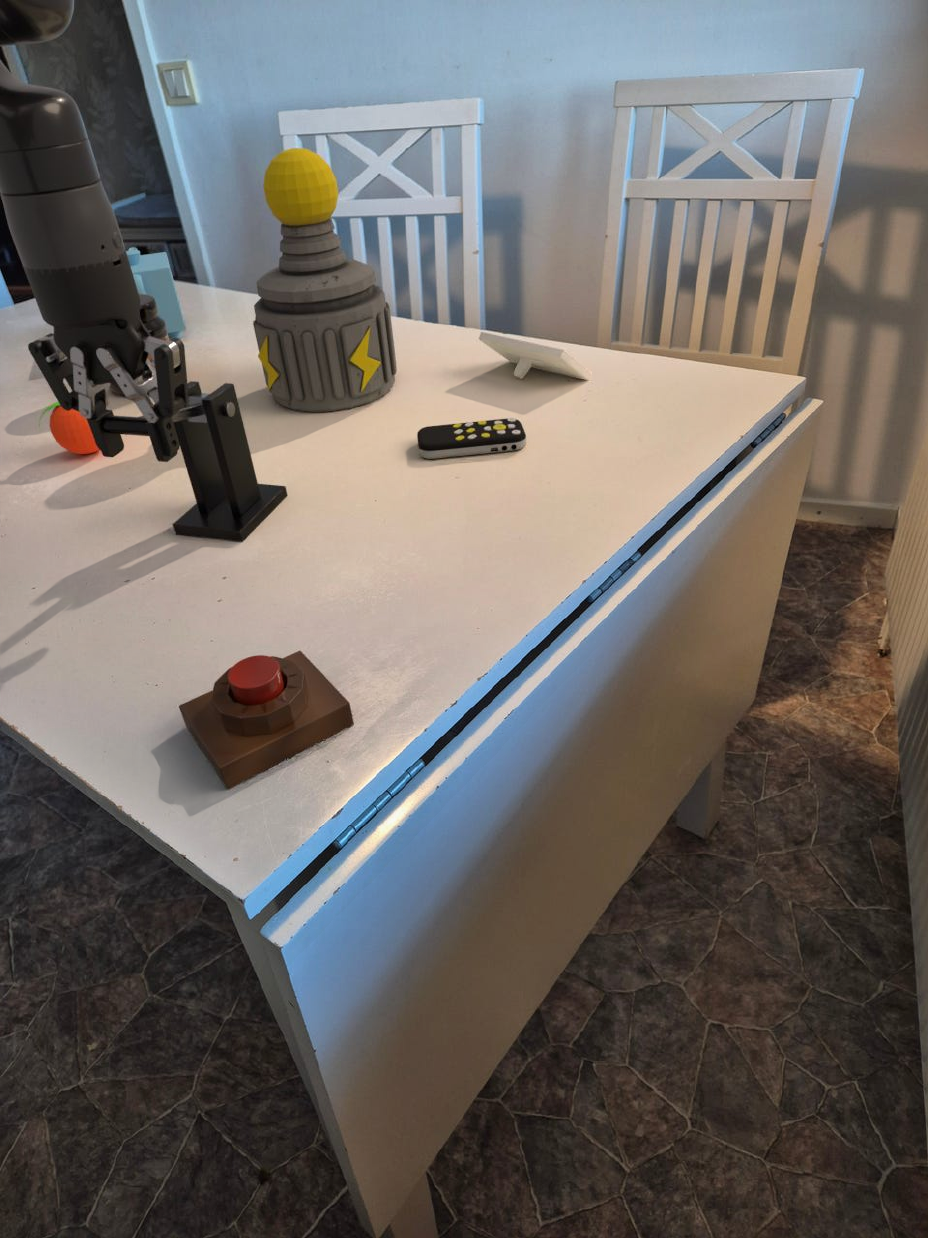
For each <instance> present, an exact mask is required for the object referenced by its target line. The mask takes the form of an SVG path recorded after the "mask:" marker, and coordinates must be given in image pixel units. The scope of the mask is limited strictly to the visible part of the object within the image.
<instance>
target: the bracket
mask: <svg viewBox="0 0 928 1238" xmlns="http://www.w3.org/2000/svg"><path fill="white" fill-rule="evenodd" d="M187 385H188V396H192V395H197V394H201V393H203V392H202V389H201V385H200V382H199V381H196V380H195V381H193V380H191V381H189V382H187ZM208 394H209V395H208V396H206V397H205V398H204V399H202V403H203V407H204V411H205V414H206V418H207V422H208V423H199V422H188V419H186V420H182V421H178V422H174V423H173V424H174V427H175V430H176V434H177V437H178V440H179V443H180V447H179V449H180V451H181V455H182V458H183V461H184V464H185V469H186V472H187V474H188V478H189V481H190V485H191V488H192V492H193V496H194V498H195V504H194V505H193V506H192V507H190V508H189V509H188V510H187V511H186V512H184V514H183V515H181V516H180V517H179V518H178V519H177V520H176V521H174V522H173V523H172V527H173V530H174V533H175V535H180V536H187V537H188V536H190V537H196V538H197V537H198V538H208V539H214V540H215V539H217V540H225V541H234V542H242V543H243V542H244V541H245V540H246V539H247V538H248V537H249V536H250V535H251V534H252V533H253V532H254V530H256V529H257V528H258V527H259V525H260V524H262V523H263V522H264V520H265V519H266V518H267V517H269V515H270V514H272V512H273V511H274V510H275V509H276V508H277V507H278V506H279V505H280V504H281V503H282V502H283V501H284V500H285V499H286V498H287V497H288V492H287V487H286V485H280V484H279V485H278V484H277V485H276V484H266V483H259V482H258V479H257V475H256V471H255V466H254V462H253V459H252V454H251V450H250V445H249V441H248V437H247V433H246V429H245V424H244V422H243V416H242V412H241V408H240V405H239V400H238V396H237V392H236V388H235V384H234V383H231V382H229V383H228V382H225V383H223V384H222V385H220V386H219V387H217V388H216V389H214V390H213V391H212V392H211V393H208Z"/></svg>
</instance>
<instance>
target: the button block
mask: <svg viewBox="0 0 928 1238" xmlns="http://www.w3.org/2000/svg"><path fill="white" fill-rule="evenodd" d="M269 657H272V658H274V659H275V660H276V661H277V662H278V663H279V666H280V670H281V674H282V677H283V681H284V688H283V691H282V692H281V694H280V695H279V696H278V697H277V698H275V699H273V700H271V701H269V702H266V703H264V704H260V705H251V706H245V705H242V704H240V703H239V702H237V701H236V700H235V698H234V695H233V692H232V689H231V686H230V683H229V680H228V674H229V671H230V669H231V668H232V667H233V666H231V667H229V668H228V669H227V670H226V671H225V672H224V673H223V674H222V675H221V676H220V677H218V679H216V680H215V681H214V683H213V687H212V690H210V691H208V692H206V693H204V694H202V695H199V696H196V697H195V698H193V699H190V700H188V701H186V702H184V703H182V704H179V705H178V709H179V712H180V714H181V717H182V720H183V722H184V725H185V727H186V729H187V730H188V732H189V733H190V735H191V736H192V738H193V739H194V741H195V742H196V744H197V746H198V747H199V749H200V750H201V752H202V754H203V755H204V757H205V758H206V759H207V761H208V762H209V764H210V766H211V767H212V769H213V770H214V771H215V773H216V775H217V776H218V778H219V779H220V781H221V783H222V784H223V785H224V787H225V788H226V790H230V789H232V788H234V787H236V786H238V785H240V784H242V783H243V782H246V781H248V780H250V779H252V778H253V777H256V776H258V775H259V774H261V773H263V772H265V771H268V770H269V769H270V768H273V767H274V766H277V765H278V764H280V763H282V762H284V761H286V760H288V759H290V758H292V757H294V756H296V755H298V754H299V753H301V752H304V751H306V750H307V749H309V748H312V747H313V746H315V745H317V744H319V743H320V742H323V741H325V740H326V739H329V738H330V737H332V736H335V735H336V734H338V733H340V732H342V731H344V730H346V729H348V728H349V727H352V726H353V725H354V723H355V722H354V717H353V713H352V709H351V704H350V702H349V701H348V699H347V698H346V697H345V696H344V695H343V694H342V693H341V692H340V691H339V690H338V689H337V688H336V686H334V685H333V683H332V682H330V680H329V679H328V678H327V677H326V676H325V675H324V674H323V673H322V672H321V670H320V669H318V668H317V666H316V665H314V663H313V662H312V661H311V660H310V658H308V657H307V656H306V655H305V654H304V653H303V651H301V650H297V651H295V652H293V653H291V654H289V655H287V656H285V657H279V656H276V655H275V656H274V655H272V656H270V655H269Z"/></svg>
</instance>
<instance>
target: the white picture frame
mask: <svg viewBox="0 0 928 1238" xmlns="http://www.w3.org/2000/svg"><path fill="white" fill-rule="evenodd" d="M478 340H479V341H480V342H482V343H483V344H484V345H486V346H487V347H489V348H490V349H492V350H493V351H495V353H497V354H498V355H500V356H502V358H505V359H506V360H507V361H508V362H510V363H514V364H517V365H516V367H515V369H514V371H513V375H514V376H515V377H516V378H517V379H520V380H523V379H524V378H525V376H526V375H527V373H528V372H529V370H530V369H531V368H535V369H539V370H543V371H547V372H551V373H556V374H560V375H564V376H568V377H572V378H575V379H580V380H585V381H590V380H591V378H592V376H593V375H592V374H593V373H592V371H590V370H589V369H588V368H587V367H586V366H584V365H583V364H582V363H580V361H578V360H577V359H575V358H574V357H573V356H572V355H570V353H568V352H567V351H565V350H564V349H561V348H556V347H552V346H549V345H543V344H538V343H534V342H529V341H524V340H522V339H521V340H520V339H515V338H511V337H506V336H502V335H499V334H498V335H497V334H494V333H493V334H492V333H488V332H484V331H480V333H479V336H478Z"/></svg>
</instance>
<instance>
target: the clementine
mask: <svg viewBox="0 0 928 1238" xmlns="http://www.w3.org/2000/svg"><path fill="white" fill-rule="evenodd" d="M51 409H52V412H51V414H50V417H49V429H50V433H51V434H52V437H53V438H54V440H55V442H56V443H57V444H58V445H59V446H60V447H61V448H63V449H65V450H66V451H68V452H69V453H73V454H77V455H89V454H92V453H95V452H97V451H100V450H99V448H98V447H97V445H96V443H95V440H94V438H93V434H92V432H91V429H90V427H89V424H88V421H87V419H86V418H84V417H83V416H82V415H81V414H80V412H78V411H76V410H74V409H71V410H69V411H67V410H65V409H63V408H62V407H61V405H60V404H59V402H58V401H57V402H54V403H53V404H50V405H49V406H48V407H47V408H46V409H44V410H43V412H42V413H41V415H40V418H39V420H41V419H42V417H44V415H45V414H46V413H47V412H48V411H50V410H51ZM38 427H39V428H40V427H41V422H39V424H38Z"/></svg>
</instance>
